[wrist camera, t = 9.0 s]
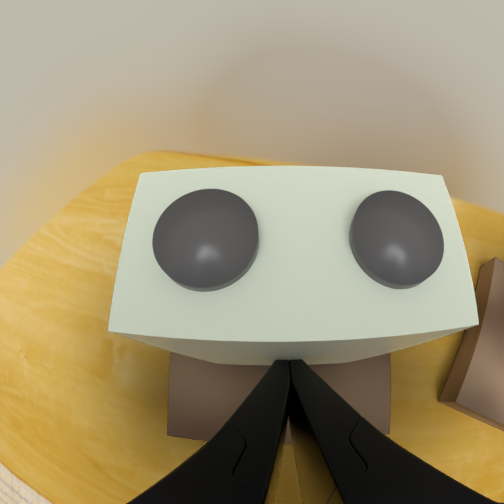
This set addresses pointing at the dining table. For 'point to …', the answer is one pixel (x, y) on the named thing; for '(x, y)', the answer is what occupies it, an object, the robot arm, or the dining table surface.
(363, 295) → the tile two
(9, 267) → the dining table surface
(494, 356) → the plinth
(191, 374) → the plinth
